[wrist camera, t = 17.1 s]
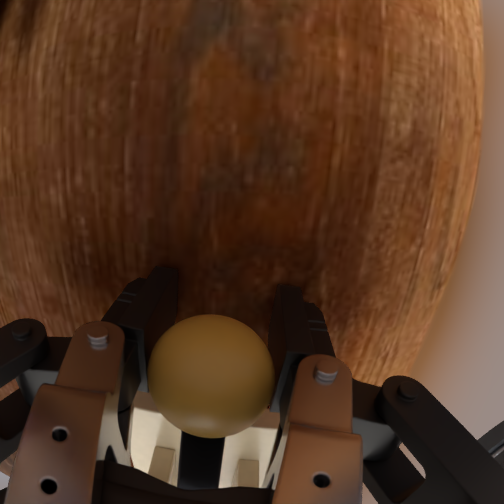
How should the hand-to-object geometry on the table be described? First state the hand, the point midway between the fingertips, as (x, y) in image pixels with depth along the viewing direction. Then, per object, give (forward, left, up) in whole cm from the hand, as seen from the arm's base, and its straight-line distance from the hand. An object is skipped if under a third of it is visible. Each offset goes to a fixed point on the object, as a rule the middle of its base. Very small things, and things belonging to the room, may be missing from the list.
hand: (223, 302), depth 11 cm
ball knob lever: (0, +6, +5) cm, 8 cm away
